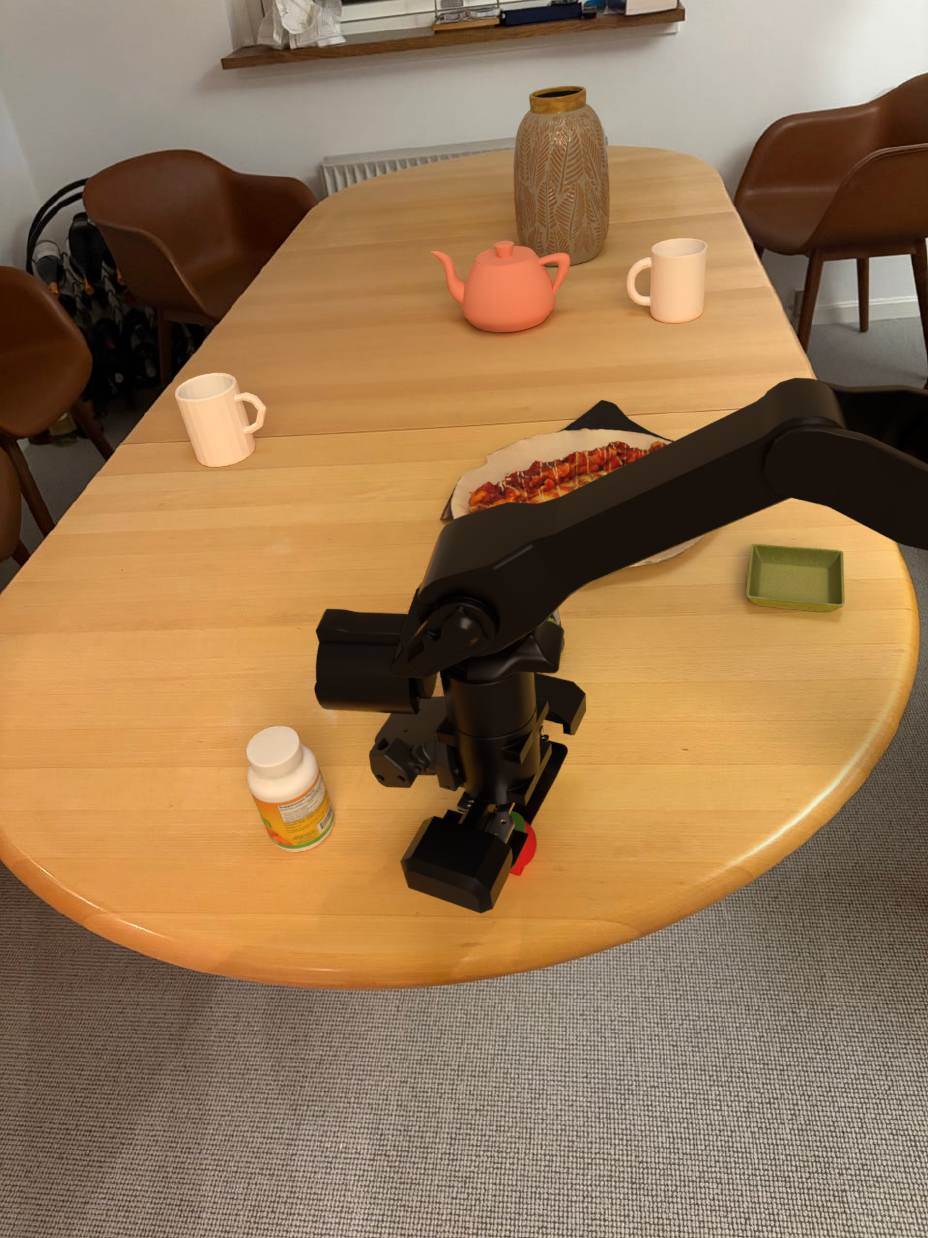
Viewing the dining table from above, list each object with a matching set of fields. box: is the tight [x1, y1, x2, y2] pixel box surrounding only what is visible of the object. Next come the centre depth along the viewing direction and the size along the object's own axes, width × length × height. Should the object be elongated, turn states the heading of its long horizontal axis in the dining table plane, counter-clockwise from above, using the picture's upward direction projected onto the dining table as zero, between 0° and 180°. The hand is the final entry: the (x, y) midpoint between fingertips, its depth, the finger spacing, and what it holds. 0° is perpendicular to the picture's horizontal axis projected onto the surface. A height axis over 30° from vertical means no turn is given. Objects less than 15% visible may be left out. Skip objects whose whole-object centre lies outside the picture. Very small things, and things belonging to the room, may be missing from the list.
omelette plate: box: [439, 399, 707, 568], centre depth 101 cm, size 31×35×7 cm
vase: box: [513, 85, 611, 267], centre depth 158 cm, size 17×17×27 cm
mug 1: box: [174, 372, 267, 468], centre depth 117 cm, size 8×12×10 cm
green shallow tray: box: [745, 543, 846, 613], centre depth 85 cm, size 9×9×2 cm
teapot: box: [429, 240, 571, 333], centre depth 142 cm, size 22×15×12 cm
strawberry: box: [509, 811, 538, 877], centre depth 65 cm, size 4×4×4 cm
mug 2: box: [625, 237, 708, 324], centre depth 137 cm, size 12×8×10 cm
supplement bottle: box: [245, 725, 336, 853], centre depth 68 cm, size 5×5×10 cm
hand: (510, 850), depth 66 cm, fingers closed on strawberry, 4 cm apart
